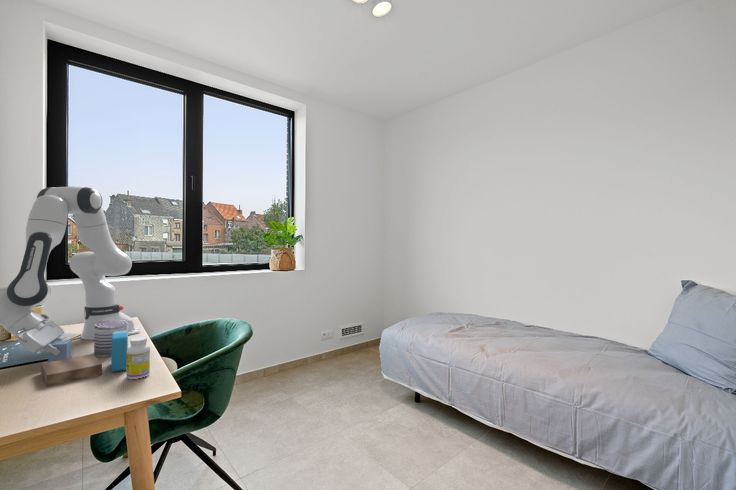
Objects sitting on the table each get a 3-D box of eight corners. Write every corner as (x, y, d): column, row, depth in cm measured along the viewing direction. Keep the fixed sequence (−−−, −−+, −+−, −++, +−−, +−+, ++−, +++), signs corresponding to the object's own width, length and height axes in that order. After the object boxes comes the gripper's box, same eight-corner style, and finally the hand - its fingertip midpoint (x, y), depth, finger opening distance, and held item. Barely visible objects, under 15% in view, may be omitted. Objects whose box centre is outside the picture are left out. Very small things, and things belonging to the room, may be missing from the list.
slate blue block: (54, 361, 131) (54, 341, 130) (71, 359, 133) (71, 339, 133) (48, 365, 126) (48, 345, 126) (66, 364, 128) (66, 343, 128)
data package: (112, 362, 131) (113, 330, 131) (127, 360, 133) (128, 329, 133) (111, 373, 121) (111, 339, 121) (127, 371, 123) (127, 337, 123)
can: (118, 345, 150) (118, 317, 150) (134, 350, 145) (135, 321, 145) (87, 353, 140) (87, 323, 140) (104, 358, 135) (104, 327, 135)
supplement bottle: (128, 373, 121) (129, 336, 121) (151, 371, 124) (151, 335, 123) (124, 381, 115) (124, 342, 115) (147, 378, 118) (148, 340, 117)
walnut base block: (92, 364, 129) (93, 354, 129) (101, 375, 120) (102, 364, 120) (41, 375, 119) (41, 363, 119) (46, 387, 110) (46, 375, 109)
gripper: (22, 326, 117) (59, 352, 121) (48, 313, 135) (79, 336, 140) (4, 341, 115) (42, 367, 119) (32, 326, 134) (65, 348, 138)
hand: (62, 350), depth 130 cm, fingers closed on slate blue block, 5 cm apart
